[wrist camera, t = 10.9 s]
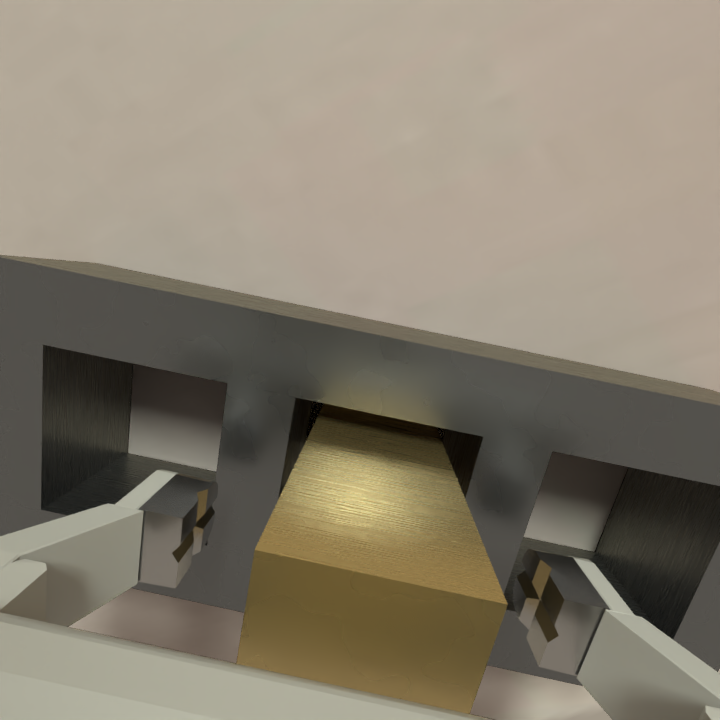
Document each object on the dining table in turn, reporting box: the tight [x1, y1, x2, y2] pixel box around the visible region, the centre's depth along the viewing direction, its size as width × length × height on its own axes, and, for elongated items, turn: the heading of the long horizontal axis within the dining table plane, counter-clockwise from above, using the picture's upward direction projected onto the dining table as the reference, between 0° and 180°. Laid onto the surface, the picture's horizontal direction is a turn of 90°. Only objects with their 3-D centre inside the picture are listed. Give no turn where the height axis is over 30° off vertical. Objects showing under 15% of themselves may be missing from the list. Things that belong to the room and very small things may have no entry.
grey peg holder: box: [0, 255, 720, 686], centre depth 13 cm, size 24×10×4 cm, turn 79°
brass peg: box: [236, 403, 508, 714], centre depth 10 cm, size 4×4×9 cm
